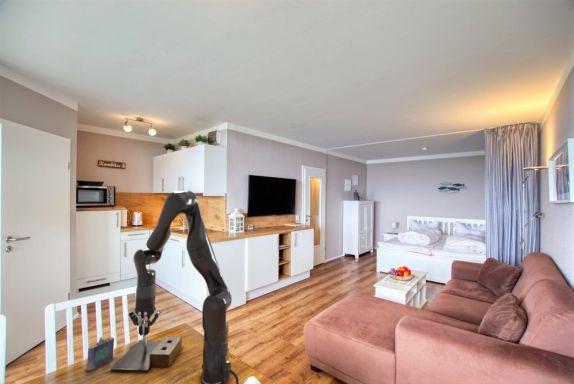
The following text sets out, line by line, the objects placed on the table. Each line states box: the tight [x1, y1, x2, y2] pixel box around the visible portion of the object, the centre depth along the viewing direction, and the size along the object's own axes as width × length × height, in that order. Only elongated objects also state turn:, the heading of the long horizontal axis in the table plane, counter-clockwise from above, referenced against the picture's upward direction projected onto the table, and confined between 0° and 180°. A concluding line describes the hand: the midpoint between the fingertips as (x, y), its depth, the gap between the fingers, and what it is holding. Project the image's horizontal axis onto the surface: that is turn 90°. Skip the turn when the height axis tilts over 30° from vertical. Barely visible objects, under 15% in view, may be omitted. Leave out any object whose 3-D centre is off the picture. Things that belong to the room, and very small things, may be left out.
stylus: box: [142, 322, 148, 351], centre depth 110 cm, size 1×1×13 cm
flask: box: [86, 336, 115, 372], centre depth 103 cm, size 9×3×11 cm, turn 151°
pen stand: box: [149, 336, 183, 368], centre depth 110 cm, size 8×13×5 cm, turn 1°
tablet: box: [110, 339, 161, 373], centre depth 110 cm, size 14×20×1 cm
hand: (144, 334), depth 110 cm, fingers closed on stylus, 1 cm apart
